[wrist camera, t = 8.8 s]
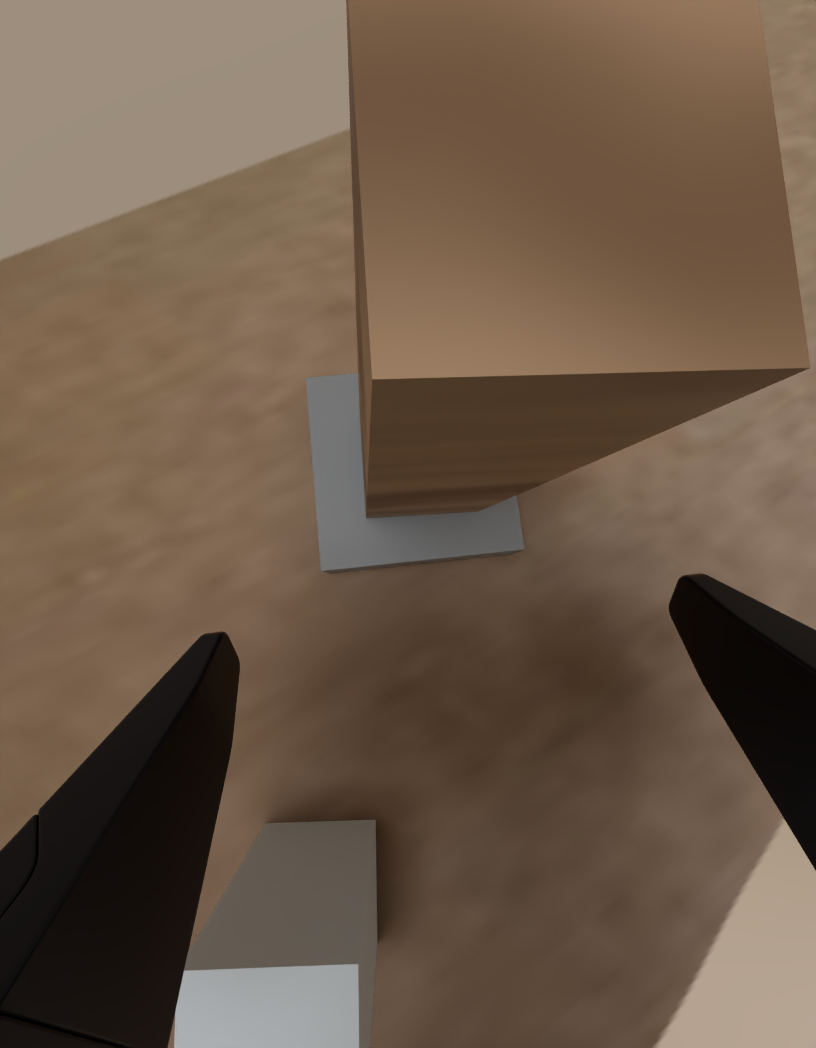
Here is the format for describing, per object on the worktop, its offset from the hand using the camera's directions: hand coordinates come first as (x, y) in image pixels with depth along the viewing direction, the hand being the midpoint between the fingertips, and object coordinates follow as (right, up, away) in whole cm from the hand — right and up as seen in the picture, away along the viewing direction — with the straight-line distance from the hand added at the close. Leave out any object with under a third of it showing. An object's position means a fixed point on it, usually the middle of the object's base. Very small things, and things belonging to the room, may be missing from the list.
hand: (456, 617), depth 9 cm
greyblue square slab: (-1, +4, +14) cm, 15 cm away
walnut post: (-1, +5, +11) cm, 12 cm away
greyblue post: (-5, -14, +11) cm, 19 cm away
